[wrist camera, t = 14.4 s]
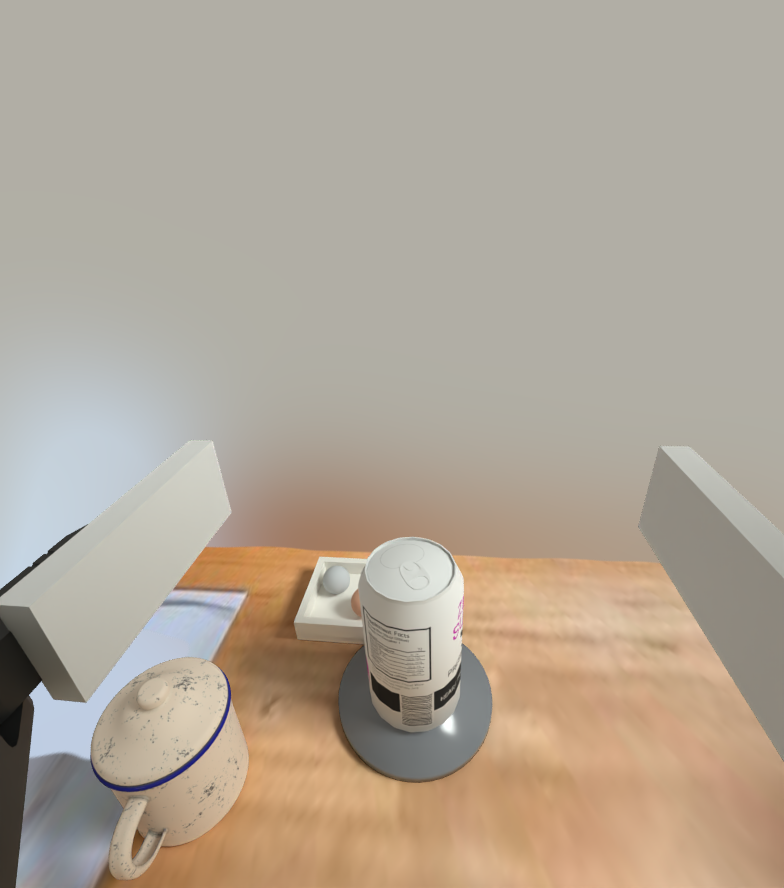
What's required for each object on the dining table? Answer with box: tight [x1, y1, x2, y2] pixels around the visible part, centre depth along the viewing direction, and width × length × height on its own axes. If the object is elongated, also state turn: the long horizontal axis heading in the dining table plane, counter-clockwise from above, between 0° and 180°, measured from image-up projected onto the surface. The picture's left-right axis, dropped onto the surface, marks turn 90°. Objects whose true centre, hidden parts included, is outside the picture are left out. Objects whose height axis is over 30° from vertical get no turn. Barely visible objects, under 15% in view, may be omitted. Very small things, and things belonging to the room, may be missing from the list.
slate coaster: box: [339, 644, 492, 783], centre depth 40 cm, size 14×14×1 cm
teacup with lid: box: [91, 657, 249, 880], centre depth 31 cm, size 12×9×12 cm
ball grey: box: [323, 566, 350, 594], centre depth 50 cm, size 3×3×3 cm
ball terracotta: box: [351, 589, 362, 617], centre depth 47 cm, size 3×3×3 cm
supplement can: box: [358, 537, 464, 732], centre depth 36 cm, size 8×8×15 cm
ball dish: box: [294, 557, 367, 644], centre depth 49 cm, size 10×10×3 cm
